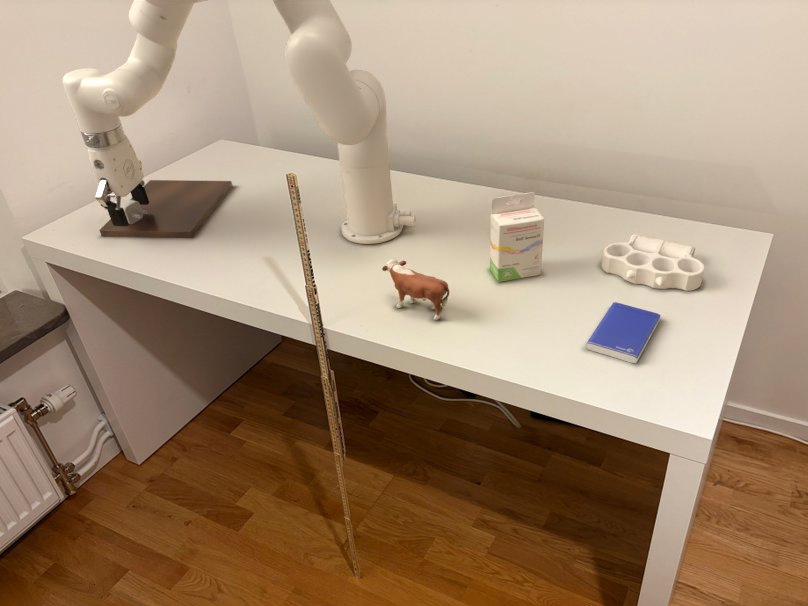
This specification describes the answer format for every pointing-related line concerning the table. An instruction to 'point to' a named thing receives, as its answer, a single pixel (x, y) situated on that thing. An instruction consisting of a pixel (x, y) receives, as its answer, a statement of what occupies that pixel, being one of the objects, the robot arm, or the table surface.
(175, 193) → the walnut board
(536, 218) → the ink box
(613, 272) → the white brass knuckles
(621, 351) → the hard drive
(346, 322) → the table surface
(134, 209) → the usb wall charger
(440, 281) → the bull figurine
